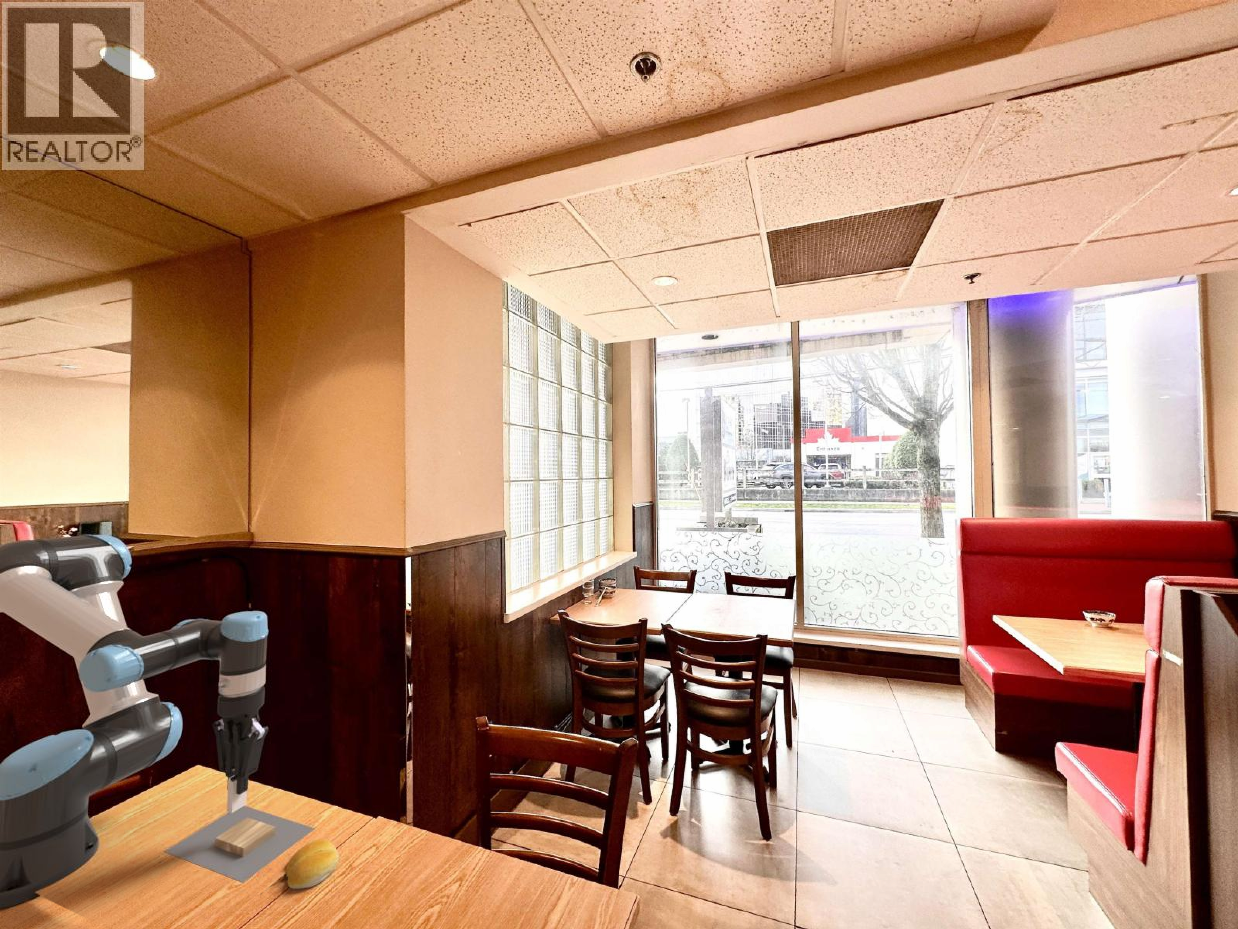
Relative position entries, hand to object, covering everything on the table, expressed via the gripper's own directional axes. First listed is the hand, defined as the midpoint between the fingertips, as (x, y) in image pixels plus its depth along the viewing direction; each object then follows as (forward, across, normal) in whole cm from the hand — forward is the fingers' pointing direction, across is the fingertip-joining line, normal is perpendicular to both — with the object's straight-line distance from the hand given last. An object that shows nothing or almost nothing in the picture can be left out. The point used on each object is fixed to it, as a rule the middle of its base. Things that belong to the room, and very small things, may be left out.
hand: (236, 807), depth 95 cm
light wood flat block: (+5, -1, 0) cm, 5 cm away
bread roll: (+8, +21, 0) cm, 22 cm away
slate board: (+7, +2, 0) cm, 7 cm away
